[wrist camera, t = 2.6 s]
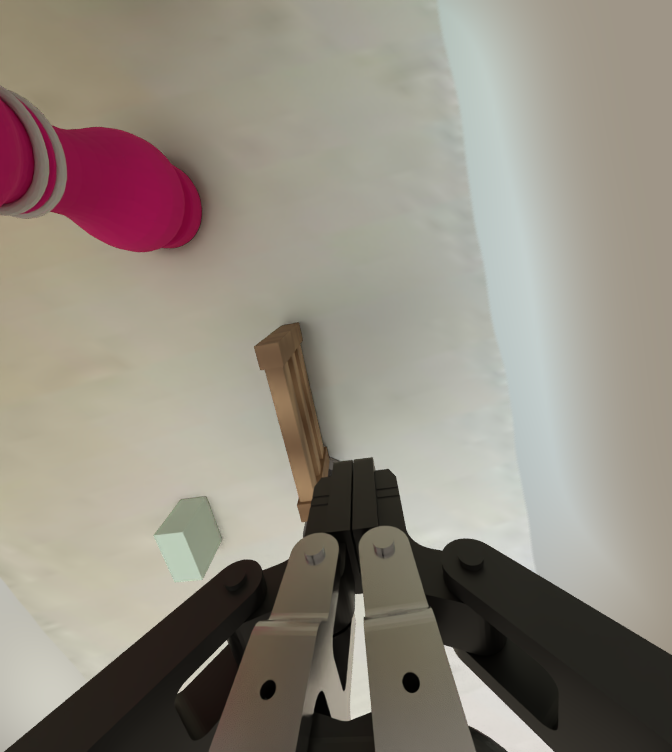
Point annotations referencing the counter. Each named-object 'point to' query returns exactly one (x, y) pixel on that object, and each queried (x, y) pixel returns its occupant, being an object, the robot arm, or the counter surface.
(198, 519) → the block
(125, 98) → the counter surface
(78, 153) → the pepper mill
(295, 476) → the gate
